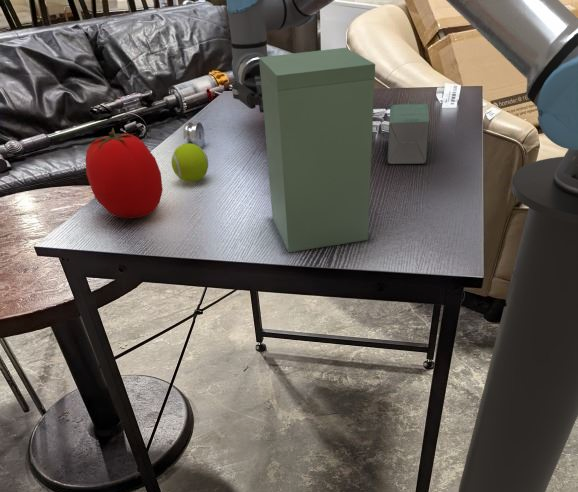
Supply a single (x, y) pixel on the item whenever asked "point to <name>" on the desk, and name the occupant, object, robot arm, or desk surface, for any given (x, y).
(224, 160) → the desk surface
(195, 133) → the grooved metal pulley
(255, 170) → the desk surface
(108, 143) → the tomato
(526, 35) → the robot arm
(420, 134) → the box
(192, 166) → the tennis ball
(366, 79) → the stand
